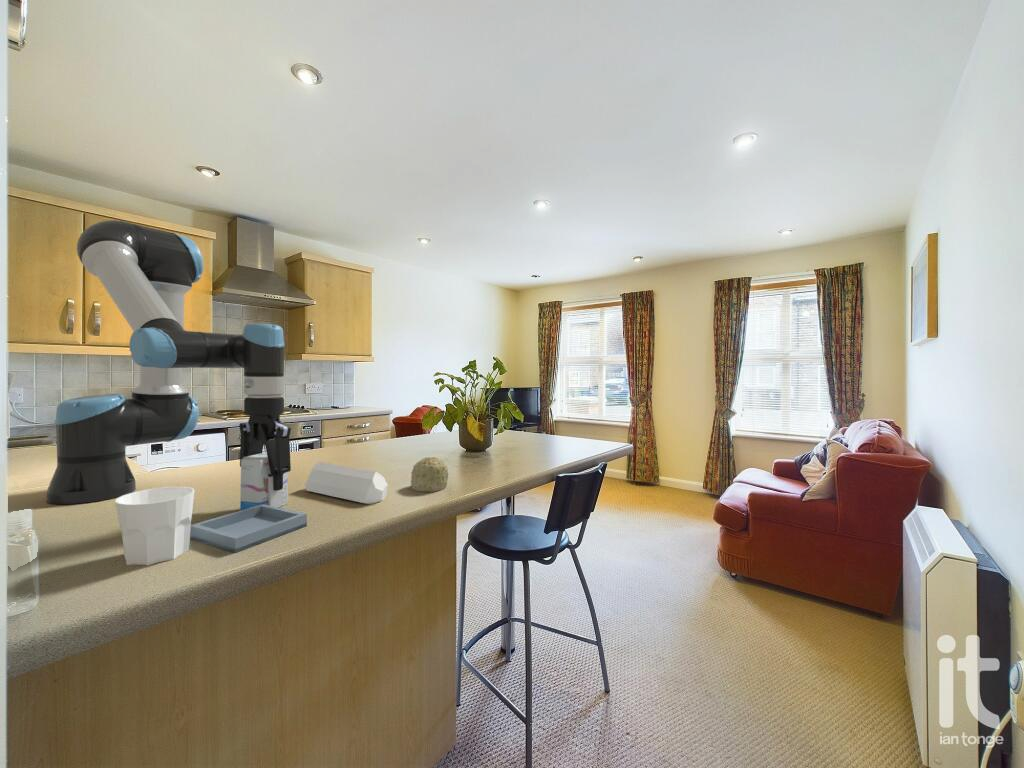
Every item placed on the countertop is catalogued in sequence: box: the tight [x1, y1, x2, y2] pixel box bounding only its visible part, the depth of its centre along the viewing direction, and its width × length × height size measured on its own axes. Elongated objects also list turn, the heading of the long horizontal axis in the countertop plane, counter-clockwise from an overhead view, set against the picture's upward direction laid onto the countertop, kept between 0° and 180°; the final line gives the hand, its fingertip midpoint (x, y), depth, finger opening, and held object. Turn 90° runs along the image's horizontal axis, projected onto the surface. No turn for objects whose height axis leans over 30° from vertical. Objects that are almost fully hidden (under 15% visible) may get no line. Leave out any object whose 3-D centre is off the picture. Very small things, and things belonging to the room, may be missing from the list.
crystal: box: [305, 461, 389, 505], centre depth 106 cm, size 7×7×24 cm
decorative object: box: [410, 456, 449, 493], centre depth 114 cm, size 9×10×10 cm
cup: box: [114, 486, 195, 566], centre depth 72 cm, size 10×10×10 cm
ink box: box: [239, 452, 289, 511], centre depth 95 cm, size 9×5×12 cm, turn 168°
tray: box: [190, 504, 308, 554], centre depth 82 cm, size 13×14×2 cm
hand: (265, 502), depth 96 cm, fingers closed on ink box, 6 cm apart
